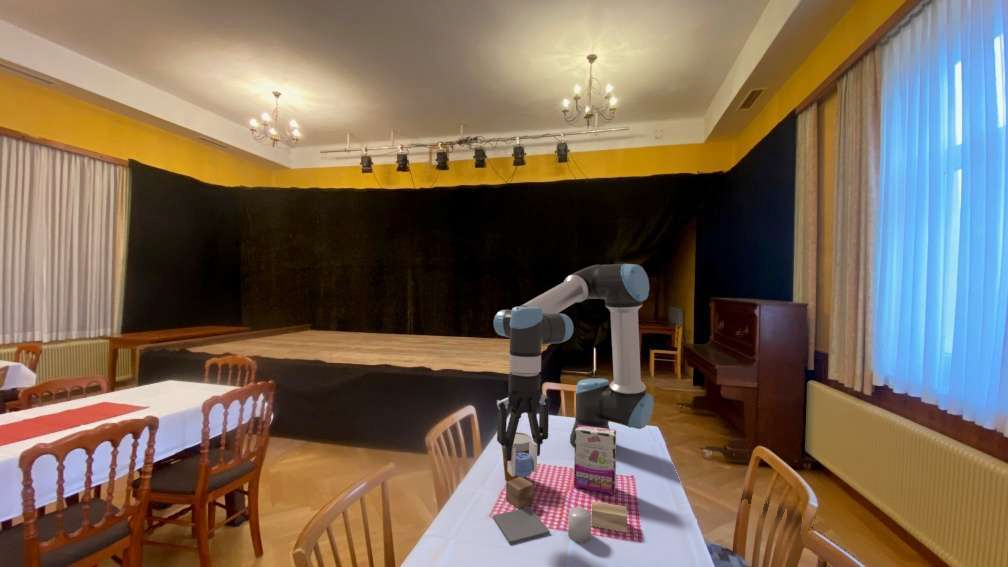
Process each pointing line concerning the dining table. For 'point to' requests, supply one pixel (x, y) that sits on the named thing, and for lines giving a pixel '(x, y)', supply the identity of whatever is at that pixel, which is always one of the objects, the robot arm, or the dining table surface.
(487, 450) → the dining table surface
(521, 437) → the disposable coffee cup
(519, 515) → the slate coaster
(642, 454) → the dining table surface
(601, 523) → the maple bar
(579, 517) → the grey plastic cylinder
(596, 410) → the robot arm
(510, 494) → the walnut cube
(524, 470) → the decorative dice
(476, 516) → the dining table surface
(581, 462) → the candy bar box
